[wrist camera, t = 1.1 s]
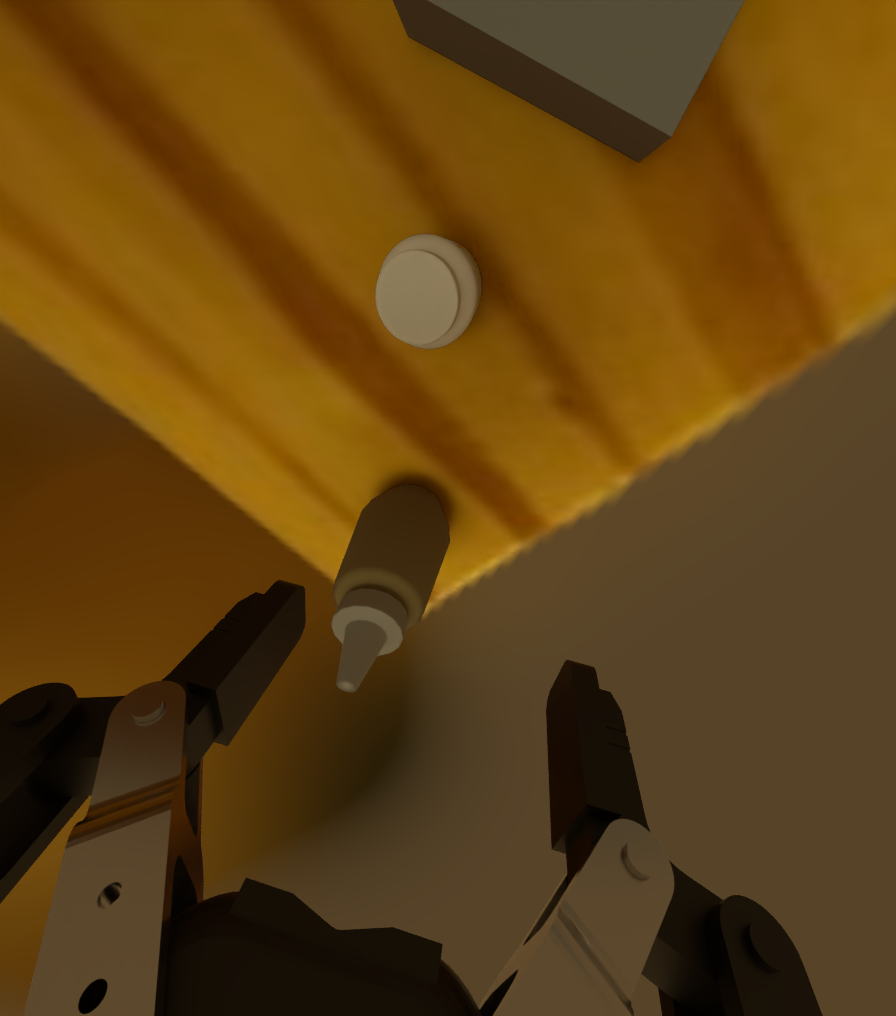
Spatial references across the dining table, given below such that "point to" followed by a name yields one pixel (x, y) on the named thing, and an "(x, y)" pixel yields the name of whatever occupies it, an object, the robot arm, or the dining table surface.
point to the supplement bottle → (428, 291)
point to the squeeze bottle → (386, 576)
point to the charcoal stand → (584, 57)
